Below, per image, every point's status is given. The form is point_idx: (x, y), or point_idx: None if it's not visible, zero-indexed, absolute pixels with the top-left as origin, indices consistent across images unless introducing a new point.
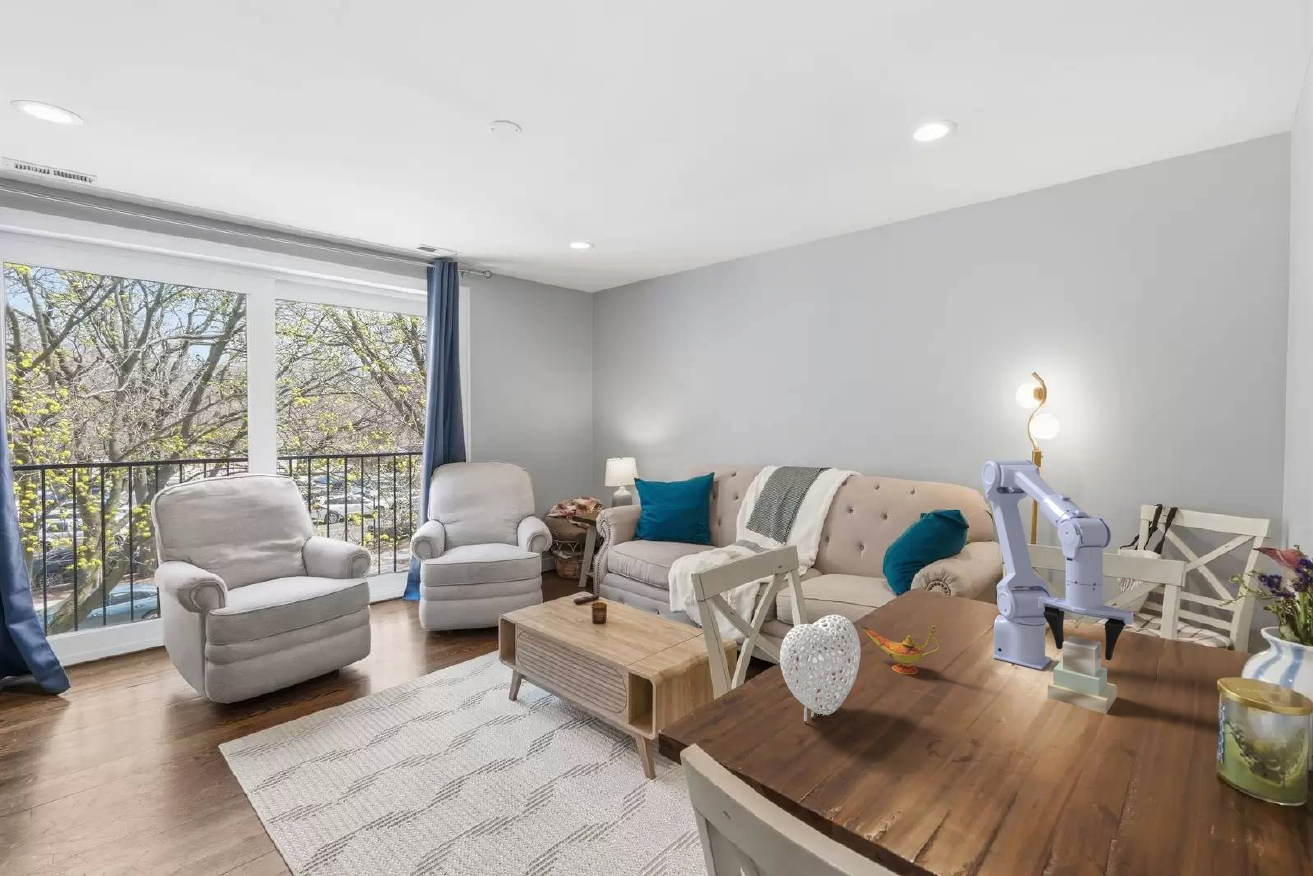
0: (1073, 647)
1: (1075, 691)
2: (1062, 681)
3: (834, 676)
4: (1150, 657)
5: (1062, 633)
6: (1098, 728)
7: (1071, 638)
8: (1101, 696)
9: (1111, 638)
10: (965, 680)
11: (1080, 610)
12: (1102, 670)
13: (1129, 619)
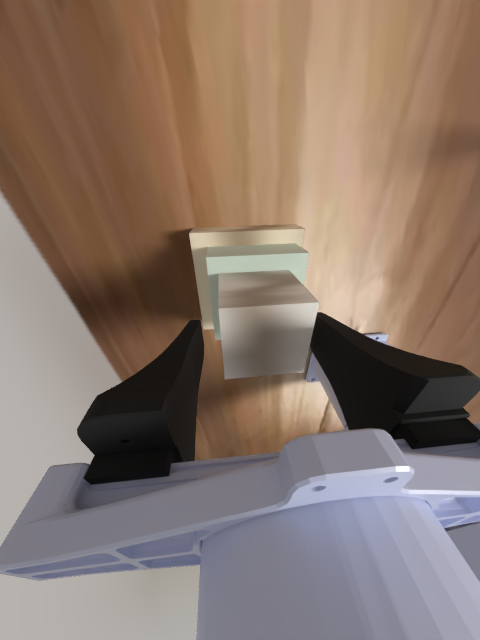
0: (283, 300)
1: (250, 237)
2: (280, 246)
3: None
4: (216, 444)
5: (325, 364)
6: (174, 111)
7: (297, 358)
8: (203, 250)
9: (161, 363)
10: (457, 183)
11: (338, 466)
12: (218, 325)
13: (31, 507)
